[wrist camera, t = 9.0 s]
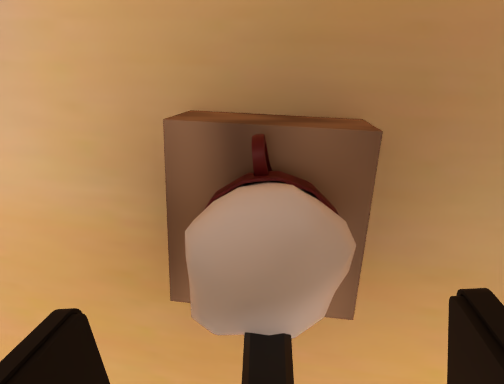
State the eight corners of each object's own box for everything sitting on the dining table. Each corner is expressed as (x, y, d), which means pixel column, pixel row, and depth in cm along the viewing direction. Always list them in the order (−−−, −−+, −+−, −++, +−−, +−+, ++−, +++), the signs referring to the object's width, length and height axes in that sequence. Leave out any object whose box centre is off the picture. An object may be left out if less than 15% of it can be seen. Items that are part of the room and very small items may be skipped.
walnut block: (361, 118, 20) (382, 131, 15) (341, 270, 23) (352, 320, 19) (192, 110, 21) (163, 119, 16) (194, 257, 24) (170, 300, 20)
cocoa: (237, 118, 16) (108, 165, 5) (366, 160, 16) (557, 315, 5) (187, 289, 19) (25, 588, 7) (297, 326, 19) (310, 691, 7)
